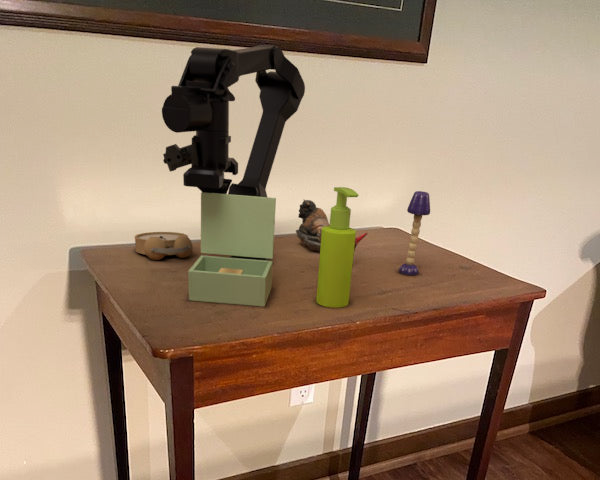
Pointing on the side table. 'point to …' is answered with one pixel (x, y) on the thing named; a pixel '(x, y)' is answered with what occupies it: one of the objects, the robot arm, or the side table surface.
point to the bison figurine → (311, 224)
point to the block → (231, 271)
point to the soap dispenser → (336, 254)
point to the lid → (237, 225)
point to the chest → (230, 281)
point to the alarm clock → (163, 244)
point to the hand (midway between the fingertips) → (212, 219)
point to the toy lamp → (415, 229)
